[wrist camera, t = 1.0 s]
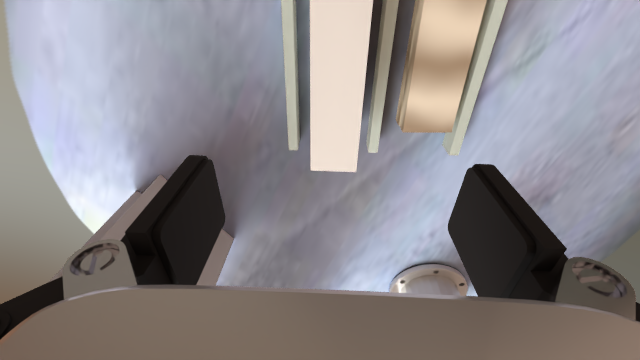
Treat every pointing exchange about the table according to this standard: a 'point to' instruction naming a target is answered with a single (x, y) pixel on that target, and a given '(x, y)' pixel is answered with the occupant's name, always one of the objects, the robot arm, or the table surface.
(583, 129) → the table surface
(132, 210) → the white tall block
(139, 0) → the table surface
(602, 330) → the robot arm
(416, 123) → the offcut upper
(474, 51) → the rack
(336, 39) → the cream rectangular block
